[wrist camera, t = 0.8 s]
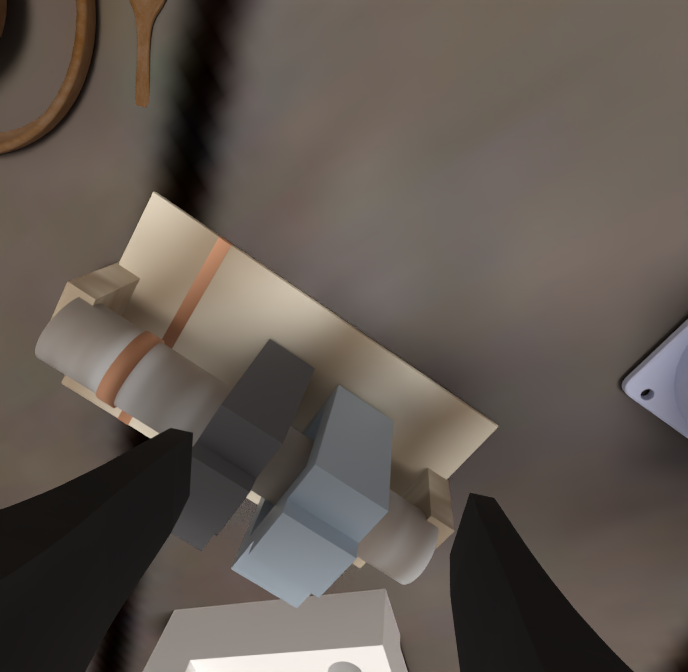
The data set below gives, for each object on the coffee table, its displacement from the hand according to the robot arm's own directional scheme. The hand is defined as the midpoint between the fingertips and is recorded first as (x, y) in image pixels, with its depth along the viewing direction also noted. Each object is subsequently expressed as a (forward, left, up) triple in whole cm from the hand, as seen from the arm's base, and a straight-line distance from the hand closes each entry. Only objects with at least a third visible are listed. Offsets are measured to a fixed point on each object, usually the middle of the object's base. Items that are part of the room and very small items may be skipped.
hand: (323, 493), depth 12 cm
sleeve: (-2, +5, -10) cm, 11 cm away
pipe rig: (+2, +5, -10) cm, 11 cm away
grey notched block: (+2, +5, -10) cm, 11 cm away
